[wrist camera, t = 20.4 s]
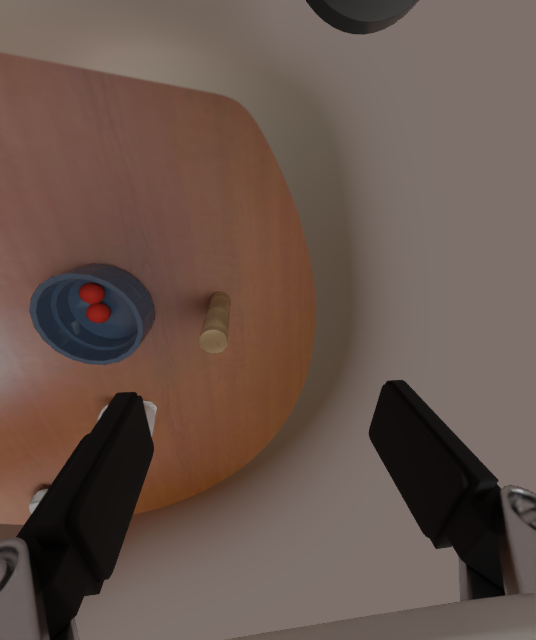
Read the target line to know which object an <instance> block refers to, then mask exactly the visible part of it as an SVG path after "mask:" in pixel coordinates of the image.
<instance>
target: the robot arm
mask: <svg viewBox="0 0 536 640" xmlns="http://www.w3.org/2000/svg"><path fill="white" fill-rule="evenodd" d="M369 437H370V440H371V442H372V443H373V445H374V447H375V449H376V451H377V452H378V454H379V456H380V458H381V460H382V461H383V463H384V465H385V467H386V469H387V470H388V472H389V474H390V476H391V477H392V479H393V481H394V483H395V485H396V486H397V488H398V490H399V492H400V493H401V495H402V497H403V499H404V500H405V502H406V504H407V506H408V508H409V509H410V511H411V513H412V515H413V516H414V518H415V520H416V522H417V523H418V525H419V527H420V529H421V531H422V532H423V534H424V535H425V536H426V537H428V538H430V540H431V541H432V543H433V545H434V547H435V548H436V549H440V548H447V547H451V546H453V548H454V549H455V551H456V552H457V554H458V556H459V580H460V602H454V603H448V604H442V605H435V606H429V607H423V608H416V609H410V610H403V611H397V612H391V613H385V614H378V615H372V616H366V617H359V618H354V619H347V620H342V621H335V622H329V623H323V624H317V625H310V626H304V627H299V628H292V629H286V630H280V631H274V632H268V633H261V634H256V635H250V636H244V637H238V638H232V639H227V640H536V494H535V493H533V492H531V491H529V490H527V489H524V488H522V487H519V486H512V485H508V486H504V487H503V488H502V489H501V488H500V487H499V486H498V485H497V482H498V479H497V478H496V477H495V476H494V475H493V474H492V473H491V472H490V471H489V470H488V469H487V468H486V466H485V465H484V464H483V463H482V462H480V460H479V459H478V458H477V457H476V456H475V455H474V454H473V453H472V452H471V451H470V450H469V449H468V448H467V446H466V445H465V444H464V443H463V442H462V441H461V440H460V439H459V438H458V437H457V436H456V435H455V434H454V433H453V432H452V431H451V430H450V429H449V427H448V426H447V425H446V424H445V423H444V422H443V421H442V420H441V419H440V418H439V417H438V416H437V415H436V414H435V413H434V411H433V410H432V409H431V408H429V406H428V405H427V404H426V403H425V402H424V401H423V400H422V399H421V398H420V397H419V396H418V395H417V394H416V392H415V391H414V390H413V389H412V388H411V387H410V386H409V385H408V384H407V383H406V382H405V381H403V380H392V381H387V382H386V384H385V385H383V386H382V389H381V392H380V396H379V399H378V402H377V405H376V409H375V412H374V415H373V419H372V422H371V425H370V429H369ZM153 452H154V445H153V441H152V437H151V432H150V428H149V424H148V420H147V416H146V412H145V407H144V403H143V399H142V397H141V396H137V393H136V392H124V393H117V394H116V395H115V396H114V397H113V399H112V401H111V402H110V404H109V405H108V407H107V408H106V410H105V411H104V413H103V414H102V416H101V417H100V419H99V420H98V422H97V424H96V425H95V427H94V428H93V430H92V431H91V433H90V434H87V435H86V436H84V438H83V439H82V440H81V441H80V443H79V444H78V446H77V447H76V449H75V450H74V452H73V453H72V455H71V456H70V458H69V459H68V461H67V462H66V464H65V465H64V467H63V468H62V469H61V471H60V472H59V474H58V475H57V477H56V478H55V480H54V481H53V483H52V484H51V486H50V487H49V489H48V490H47V492H46V493H45V495H44V496H43V498H42V499H41V501H40V502H39V504H38V505H37V507H36V508H35V510H34V511H33V513H32V514H31V516H30V517H29V519H28V520H27V522H26V523H25V525H24V526H23V528H22V529H21V531H20V532H19V534H18V535H17V537H16V538H5V539H2V540H0V640H79V636H78V631H77V627H76V622H75V618H74V617H75V616H76V615H77V612H78V610H79V608H80V605H81V603H82V600H83V598H84V596H89V595H96V594H99V593H100V591H101V588H102V585H103V582H104V580H106V579H109V578H110V576H111V575H112V573H113V570H114V568H115V565H116V562H117V559H118V556H119V553H120V550H121V547H122V544H123V541H124V538H125V535H126V532H127V530H128V527H129V523H130V521H131V518H132V515H133V512H134V509H135V506H136V503H137V500H138V497H139V495H140V492H141V489H142V486H143V483H144V480H145V477H146V474H147V471H148V468H149V465H150V462H151V460H152V457H153Z"/></svg>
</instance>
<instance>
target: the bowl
mask: <svg viewBox="0 0 536 640" xmlns="http://www.w3.org/2000/svg"><path fill="white" fill-rule="evenodd" d="M86 283H96V284H98V285H100V286H101V287H102V288H103V289H104V291H105V297H104V299H103V300H102V301H101V302H99V303H103V304H105V305H107V306H108V307H109V308H110V311H111V316H110V318H109V319H108V320H107V321H105V322H103V323H94V322H92V321H90V320H89V319H88V318H87V316H86V310H87V308H88V307H89V306H90V305H92V304H89V303H86V302H84V301H83V300H82V299H81V298H80V296H79V289H80V288H81V286H82V285H84V284H86ZM30 314H31V318H32V321H33V325H34V327H35V329H36V330H37V332H38V333H39V335H40V336H41V337H42V339H43V340H44V341H45V342H46V343H47V344H48V345H50V346H51V347H52V348H53V349H54V350H55V351H57V352H59V353H61V354H62V355H64V356H66V357H68V358H70V359H72V360H75V361H79V362H83V363H86V364H98V365H106V364H111V363H116V362H120V361H121V360H123V359H125V358H127V357H129V356H131V355H132V354H133V352H134V351H135V350H136V349H137V348H138V347H139V345H140V344H141V343H142V341H143V340H144V338H145V337H146V335H147V334H148V333H149V331H150V330H151V328H152V325H153V322H154V319H155V311H154V304H153V301H152V299H151V296H150V294H149V292H148V291H147V290H146V289H145V287H144V286H143V285H142V284H141V282H140V281H139V280H137V279H136V278H134V277H133V276H132V275H130V274H129V273H127V272H126V271H124V270H121V269H119V268H116V267H114V266H111V265H103V264H89V265H83V266H79V267H76V268H74V269H71V270H68V271H66V272H63V273H60V274H58V275H55V276H52V277H51V278H49V279H48V280H46V281H44V282H43V283H41V284H40V285H39V286H38V288H37V289H36V291H35V292H34V294H33V295H32V297H31V304H30Z"/></svg>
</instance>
